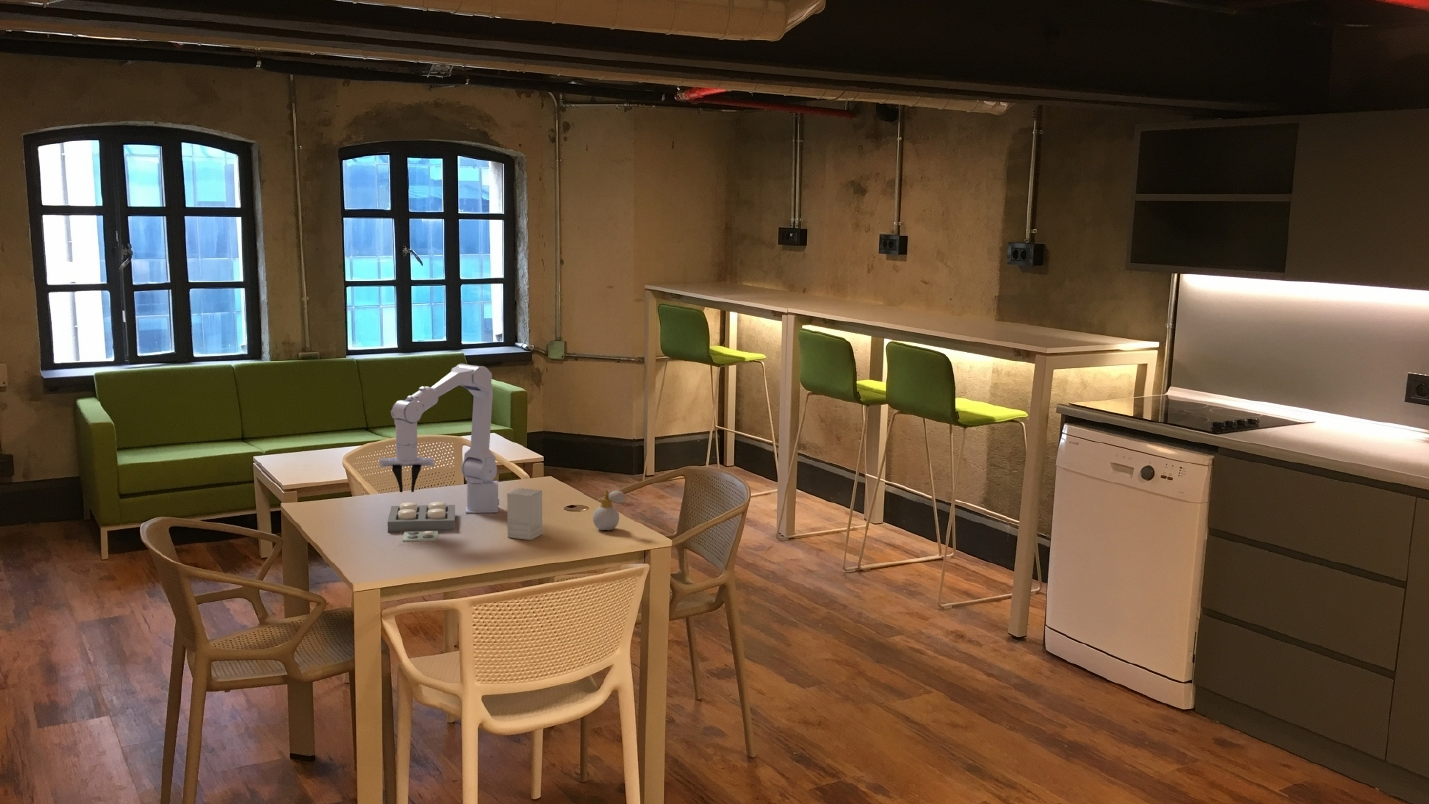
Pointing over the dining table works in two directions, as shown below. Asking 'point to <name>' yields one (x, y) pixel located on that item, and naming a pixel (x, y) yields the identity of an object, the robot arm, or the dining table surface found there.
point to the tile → (420, 536)
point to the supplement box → (524, 513)
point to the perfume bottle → (608, 511)
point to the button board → (421, 520)
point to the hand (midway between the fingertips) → (407, 491)
